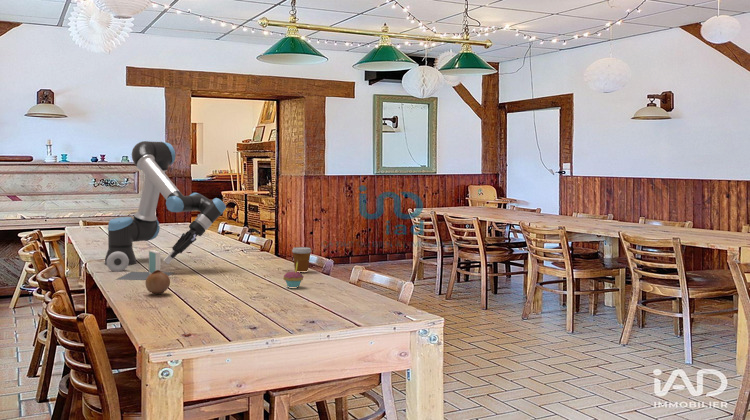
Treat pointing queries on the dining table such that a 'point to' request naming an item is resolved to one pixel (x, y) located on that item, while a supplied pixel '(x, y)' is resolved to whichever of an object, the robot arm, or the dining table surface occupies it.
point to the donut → (114, 256)
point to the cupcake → (293, 278)
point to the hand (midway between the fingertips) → (165, 262)
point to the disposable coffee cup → (301, 258)
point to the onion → (157, 282)
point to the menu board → (154, 261)
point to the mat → (138, 276)
